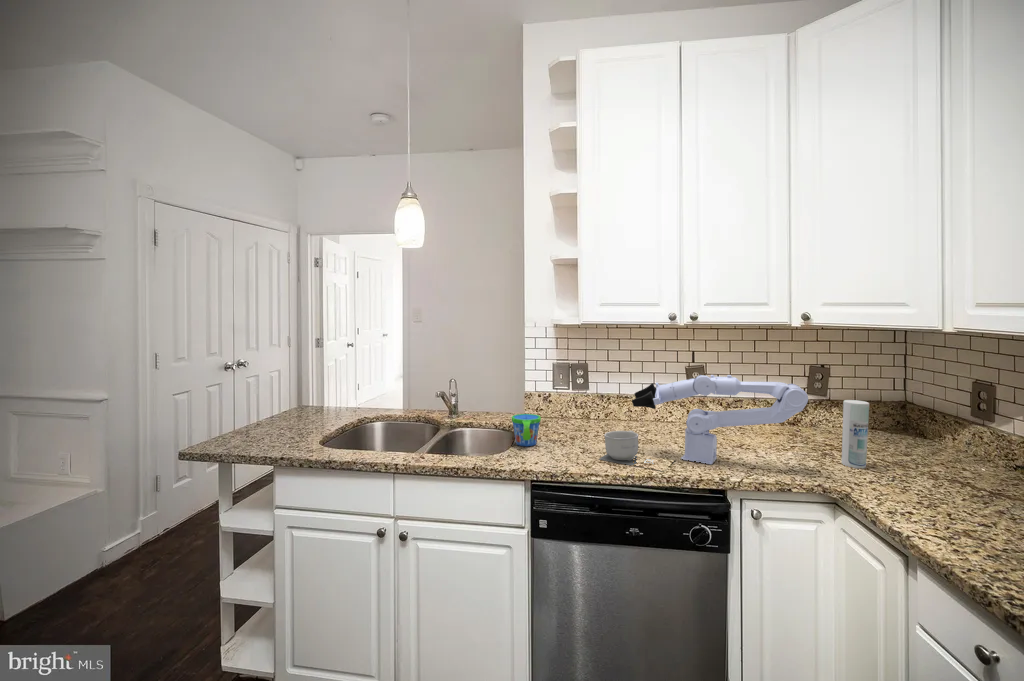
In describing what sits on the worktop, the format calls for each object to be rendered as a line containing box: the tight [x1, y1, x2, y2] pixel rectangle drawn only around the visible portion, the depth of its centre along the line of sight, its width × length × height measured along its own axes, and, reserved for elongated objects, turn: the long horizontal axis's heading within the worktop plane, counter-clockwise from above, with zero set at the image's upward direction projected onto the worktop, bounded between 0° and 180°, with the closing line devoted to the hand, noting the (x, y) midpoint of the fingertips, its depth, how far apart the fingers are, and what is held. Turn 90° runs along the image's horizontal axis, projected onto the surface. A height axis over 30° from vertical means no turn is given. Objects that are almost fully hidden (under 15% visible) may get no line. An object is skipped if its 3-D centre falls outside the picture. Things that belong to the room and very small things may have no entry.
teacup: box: [604, 430, 639, 460], centre depth 155 cm, size 14×11×8 cm
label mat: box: [598, 453, 654, 466], centre depth 153 cm, size 21×13×1 cm, turn 56°
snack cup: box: [511, 413, 542, 447], centre depth 171 cm, size 16×10×10 cm
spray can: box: [841, 399, 870, 469], centre depth 147 cm, size 6×6×20 cm
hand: (633, 399), depth 161 cm, fingers open, 7 cm apart
